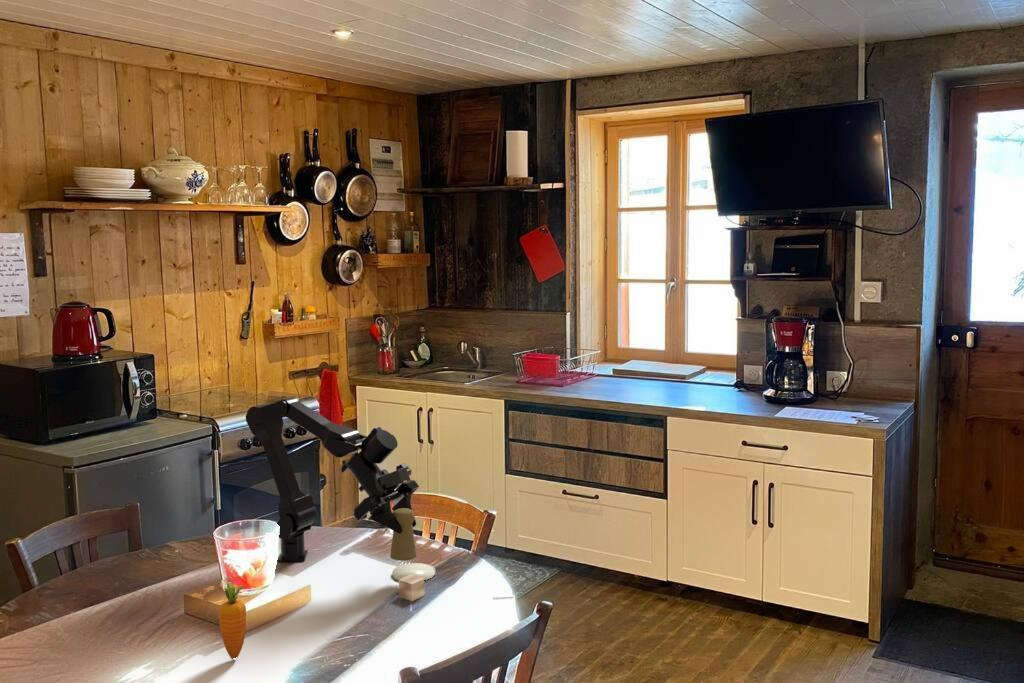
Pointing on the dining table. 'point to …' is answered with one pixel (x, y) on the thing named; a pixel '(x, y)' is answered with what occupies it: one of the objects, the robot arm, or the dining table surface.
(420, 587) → the marked birch block
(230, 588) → the carrot
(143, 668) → the dining table surface
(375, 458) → the robot arm
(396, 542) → the pepper mill
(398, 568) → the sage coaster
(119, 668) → the dining table surface
